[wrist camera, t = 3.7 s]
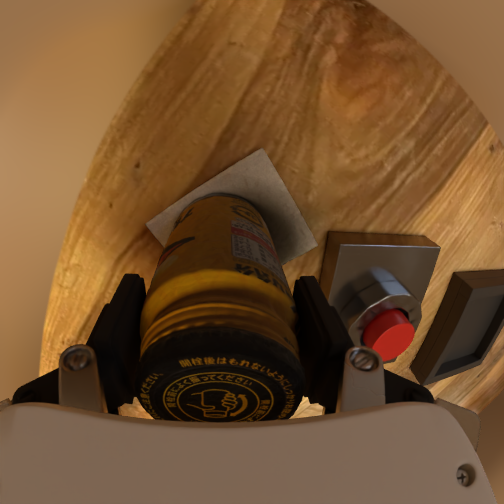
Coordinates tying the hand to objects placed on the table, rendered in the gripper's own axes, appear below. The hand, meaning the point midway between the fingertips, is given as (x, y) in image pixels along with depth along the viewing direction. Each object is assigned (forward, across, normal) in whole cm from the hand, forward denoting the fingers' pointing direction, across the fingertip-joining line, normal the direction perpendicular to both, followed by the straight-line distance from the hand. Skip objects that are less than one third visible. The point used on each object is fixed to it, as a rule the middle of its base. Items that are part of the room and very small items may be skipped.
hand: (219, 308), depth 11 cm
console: (+8, -12, +6) cm, 15 cm away
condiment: (+8, -1, 0) cm, 8 cm away
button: (+4, -12, +6) cm, 14 cm away
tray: (+8, -28, +10) cm, 30 cm away
